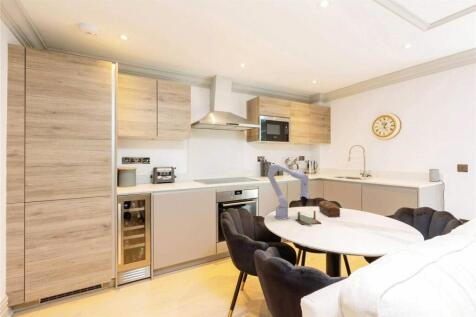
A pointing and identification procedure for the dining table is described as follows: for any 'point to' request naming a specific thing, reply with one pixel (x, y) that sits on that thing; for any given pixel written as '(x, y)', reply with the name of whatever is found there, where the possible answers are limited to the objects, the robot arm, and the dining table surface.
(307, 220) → the gate leaf
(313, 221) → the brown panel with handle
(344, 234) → the dining table surface
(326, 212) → the bread
